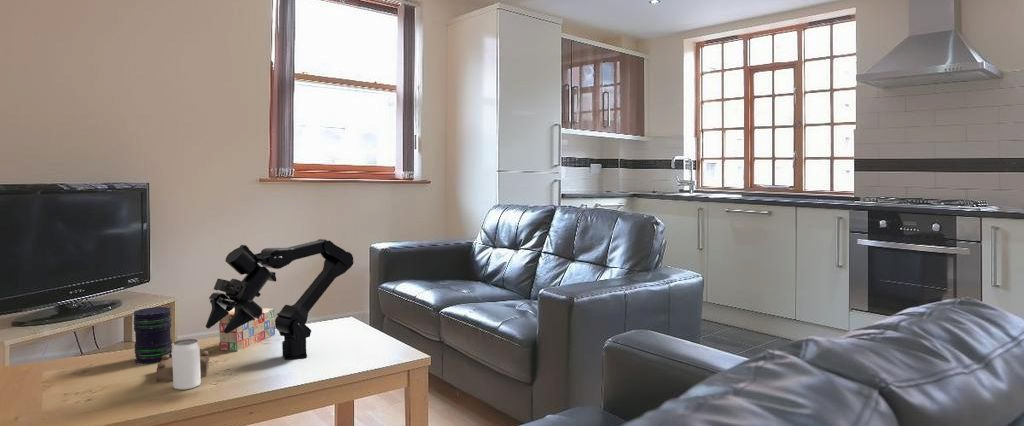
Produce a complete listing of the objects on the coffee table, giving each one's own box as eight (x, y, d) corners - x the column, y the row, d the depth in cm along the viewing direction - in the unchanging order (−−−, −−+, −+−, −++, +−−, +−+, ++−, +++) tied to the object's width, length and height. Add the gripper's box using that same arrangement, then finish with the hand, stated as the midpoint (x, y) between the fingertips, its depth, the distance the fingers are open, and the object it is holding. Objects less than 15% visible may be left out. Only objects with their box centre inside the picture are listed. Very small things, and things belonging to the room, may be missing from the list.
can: (179, 382, 169) (178, 338, 168) (204, 381, 169) (203, 338, 168) (168, 390, 162) (167, 345, 161) (194, 390, 163) (193, 344, 162)
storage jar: (175, 353, 195) (173, 306, 194) (169, 362, 186) (167, 313, 185) (139, 356, 192) (137, 308, 191) (131, 365, 183) (129, 315, 182)
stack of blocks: (259, 333, 220) (258, 299, 219) (275, 334, 218) (274, 299, 217) (219, 350, 199) (218, 312, 198) (237, 352, 197) (236, 313, 197)
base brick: (209, 365, 183) (208, 350, 183) (206, 376, 174) (205, 360, 173) (162, 370, 178) (162, 355, 178) (157, 381, 169) (156, 365, 169)
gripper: (214, 264, 180) (176, 309, 172) (251, 270, 169) (213, 318, 161) (240, 287, 187) (205, 331, 179) (277, 294, 176) (242, 341, 168)
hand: (215, 330), depth 171 cm, fingers open, 9 cm apart
